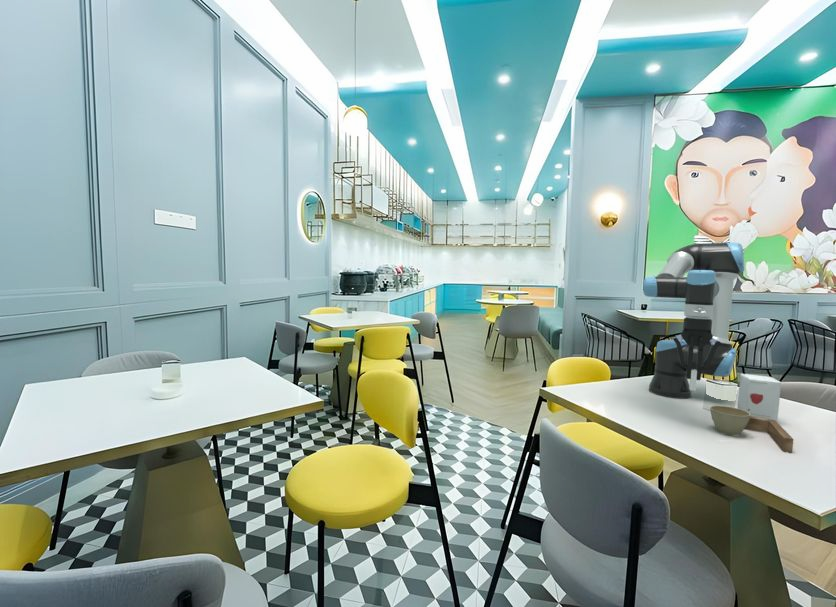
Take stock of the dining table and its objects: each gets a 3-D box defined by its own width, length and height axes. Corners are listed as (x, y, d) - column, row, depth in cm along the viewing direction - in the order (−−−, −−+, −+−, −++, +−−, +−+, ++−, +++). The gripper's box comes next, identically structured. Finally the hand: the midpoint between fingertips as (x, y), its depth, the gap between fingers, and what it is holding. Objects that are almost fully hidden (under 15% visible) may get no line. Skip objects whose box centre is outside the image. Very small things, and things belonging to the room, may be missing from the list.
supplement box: (744, 420, 135) (747, 378, 134) (736, 413, 143) (739, 373, 142) (778, 425, 131) (782, 382, 130) (768, 417, 139) (771, 376, 138)
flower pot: (711, 424, 131) (713, 403, 130) (750, 433, 124) (752, 411, 123) (705, 431, 124) (707, 409, 123) (746, 441, 117) (748, 418, 116)
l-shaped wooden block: (737, 442, 115) (738, 429, 115) (727, 424, 131) (727, 412, 131) (792, 453, 109) (793, 439, 109) (774, 432, 125) (775, 420, 125)
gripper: (674, 316, 127) (669, 388, 128) (725, 320, 120) (719, 395, 121) (673, 315, 133) (668, 383, 134) (721, 318, 126) (715, 390, 128)
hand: (692, 389), depth 128 cm, fingers closed
